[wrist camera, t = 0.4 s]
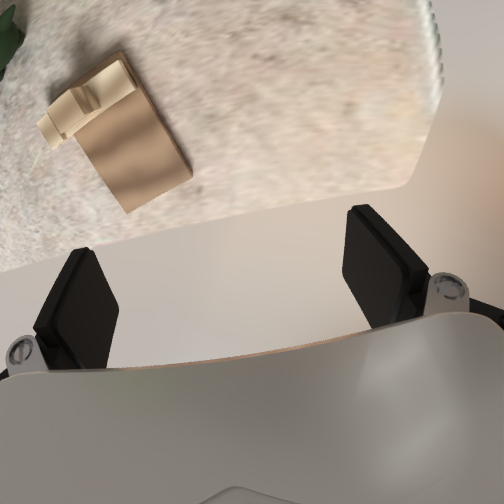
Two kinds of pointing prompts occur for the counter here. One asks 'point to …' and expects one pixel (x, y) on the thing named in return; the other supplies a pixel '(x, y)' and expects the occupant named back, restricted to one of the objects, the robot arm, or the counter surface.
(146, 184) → the walnut board
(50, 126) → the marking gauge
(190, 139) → the counter surface
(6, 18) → the toy figurine
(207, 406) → the robot arm
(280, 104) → the counter surface
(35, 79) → the counter surface
